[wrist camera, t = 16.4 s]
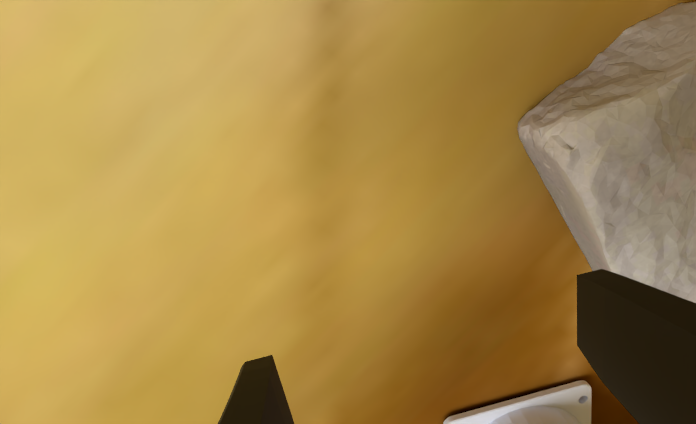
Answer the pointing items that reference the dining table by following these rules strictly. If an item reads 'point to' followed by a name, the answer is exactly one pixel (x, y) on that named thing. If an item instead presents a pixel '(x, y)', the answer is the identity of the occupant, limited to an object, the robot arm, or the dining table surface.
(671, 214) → the stone block
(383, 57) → the dining table surface
